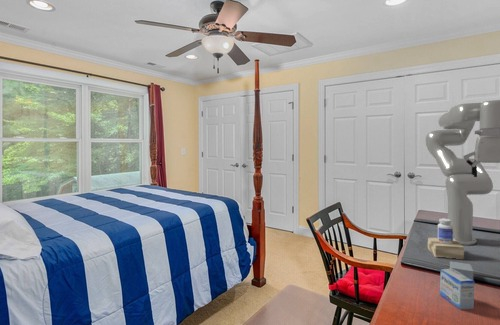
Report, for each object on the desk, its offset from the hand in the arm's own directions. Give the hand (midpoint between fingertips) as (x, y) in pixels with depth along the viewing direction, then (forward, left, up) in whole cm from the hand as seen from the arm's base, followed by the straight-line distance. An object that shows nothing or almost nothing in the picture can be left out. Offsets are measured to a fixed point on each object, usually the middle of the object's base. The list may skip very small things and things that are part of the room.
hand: (490, 177), depth 109 cm
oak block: (-4, -14, -33) cm, 36 cm away
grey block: (+17, -16, -34) cm, 41 cm away
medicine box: (+35, -24, -34) cm, 54 cm away
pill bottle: (-4, -14, -28) cm, 32 cm away
